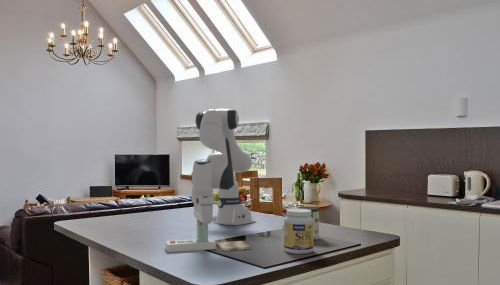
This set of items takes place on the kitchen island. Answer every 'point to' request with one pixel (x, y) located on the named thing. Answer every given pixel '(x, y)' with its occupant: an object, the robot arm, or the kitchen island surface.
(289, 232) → the supplement tub
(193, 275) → the kitchen island surface
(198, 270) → the kitchen island surface
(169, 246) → the power strip
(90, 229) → the kitchen island surface
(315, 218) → the coffee can
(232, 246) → the coaster
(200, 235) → the grey-green tall block
